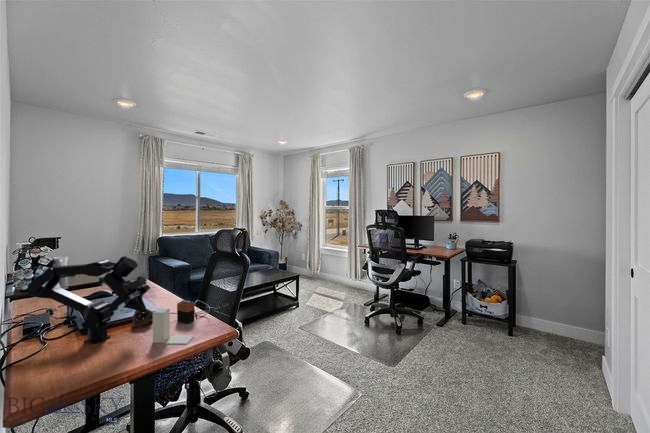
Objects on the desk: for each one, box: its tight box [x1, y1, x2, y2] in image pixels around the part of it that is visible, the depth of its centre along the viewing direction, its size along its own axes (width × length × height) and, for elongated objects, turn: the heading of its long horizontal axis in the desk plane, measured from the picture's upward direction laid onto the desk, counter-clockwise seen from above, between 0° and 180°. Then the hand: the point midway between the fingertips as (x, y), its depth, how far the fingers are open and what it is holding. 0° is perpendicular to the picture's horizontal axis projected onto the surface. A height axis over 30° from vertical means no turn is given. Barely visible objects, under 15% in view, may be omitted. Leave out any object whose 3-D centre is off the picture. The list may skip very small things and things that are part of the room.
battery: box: [176, 299, 195, 325], centre depth 140 cm, size 4×7×10 cm, turn 69°
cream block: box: [152, 308, 171, 344], centre depth 120 cm, size 4×4×12 cm
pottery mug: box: [132, 308, 154, 329], centre depth 136 cm, size 12×10×8 cm
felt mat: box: [163, 334, 195, 345], centre depth 121 cm, size 9×7×1 cm
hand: (145, 311), depth 120 cm, fingers closed
